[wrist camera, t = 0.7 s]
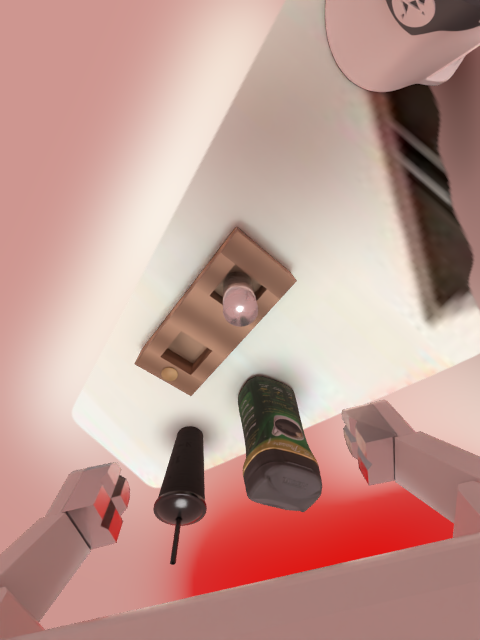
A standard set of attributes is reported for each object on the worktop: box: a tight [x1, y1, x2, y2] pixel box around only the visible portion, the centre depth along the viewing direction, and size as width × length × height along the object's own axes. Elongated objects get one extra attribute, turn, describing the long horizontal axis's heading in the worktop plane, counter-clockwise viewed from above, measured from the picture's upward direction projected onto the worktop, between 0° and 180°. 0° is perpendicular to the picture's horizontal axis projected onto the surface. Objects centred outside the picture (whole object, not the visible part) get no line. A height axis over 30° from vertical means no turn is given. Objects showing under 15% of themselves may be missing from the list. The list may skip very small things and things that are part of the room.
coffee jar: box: [238, 377, 322, 512], centre depth 42 cm, size 10×8×19 cm
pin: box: [223, 271, 258, 327], centre depth 36 cm, size 4×4×9 cm
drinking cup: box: [154, 427, 207, 565], centre depth 44 cm, size 8×8×20 cm
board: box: [135, 227, 297, 396], centre depth 41 cm, size 24×10×4 cm, turn 141°
